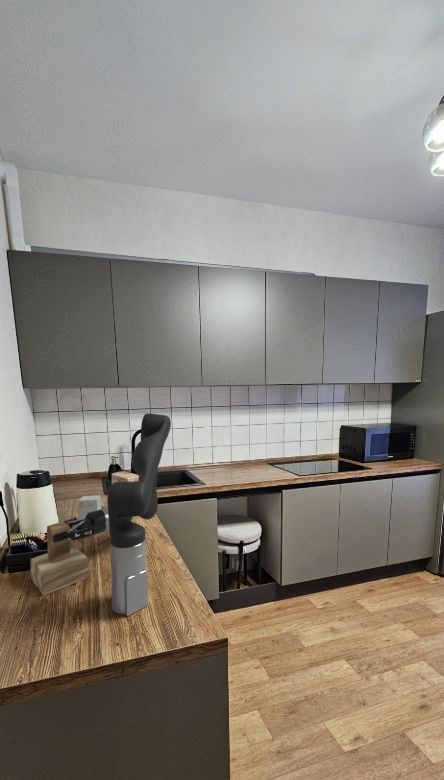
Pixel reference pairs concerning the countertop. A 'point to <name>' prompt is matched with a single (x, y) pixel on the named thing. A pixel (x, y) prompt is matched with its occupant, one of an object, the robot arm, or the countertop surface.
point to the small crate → (61, 548)
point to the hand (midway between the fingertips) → (50, 535)
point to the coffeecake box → (124, 477)
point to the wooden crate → (59, 571)
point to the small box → (88, 505)
